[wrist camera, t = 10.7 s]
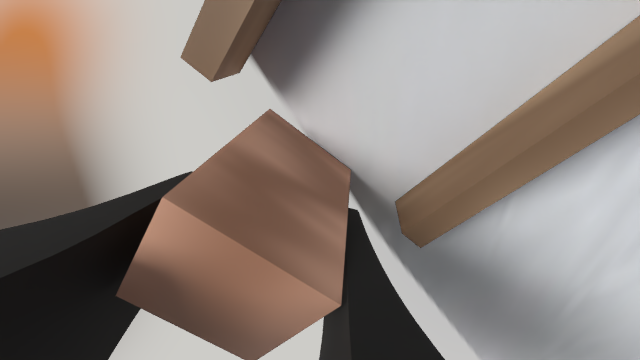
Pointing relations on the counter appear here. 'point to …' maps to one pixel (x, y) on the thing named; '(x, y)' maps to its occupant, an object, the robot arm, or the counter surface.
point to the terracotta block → (248, 242)
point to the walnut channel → (491, 148)
